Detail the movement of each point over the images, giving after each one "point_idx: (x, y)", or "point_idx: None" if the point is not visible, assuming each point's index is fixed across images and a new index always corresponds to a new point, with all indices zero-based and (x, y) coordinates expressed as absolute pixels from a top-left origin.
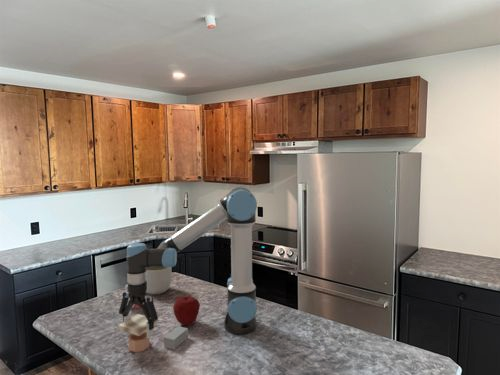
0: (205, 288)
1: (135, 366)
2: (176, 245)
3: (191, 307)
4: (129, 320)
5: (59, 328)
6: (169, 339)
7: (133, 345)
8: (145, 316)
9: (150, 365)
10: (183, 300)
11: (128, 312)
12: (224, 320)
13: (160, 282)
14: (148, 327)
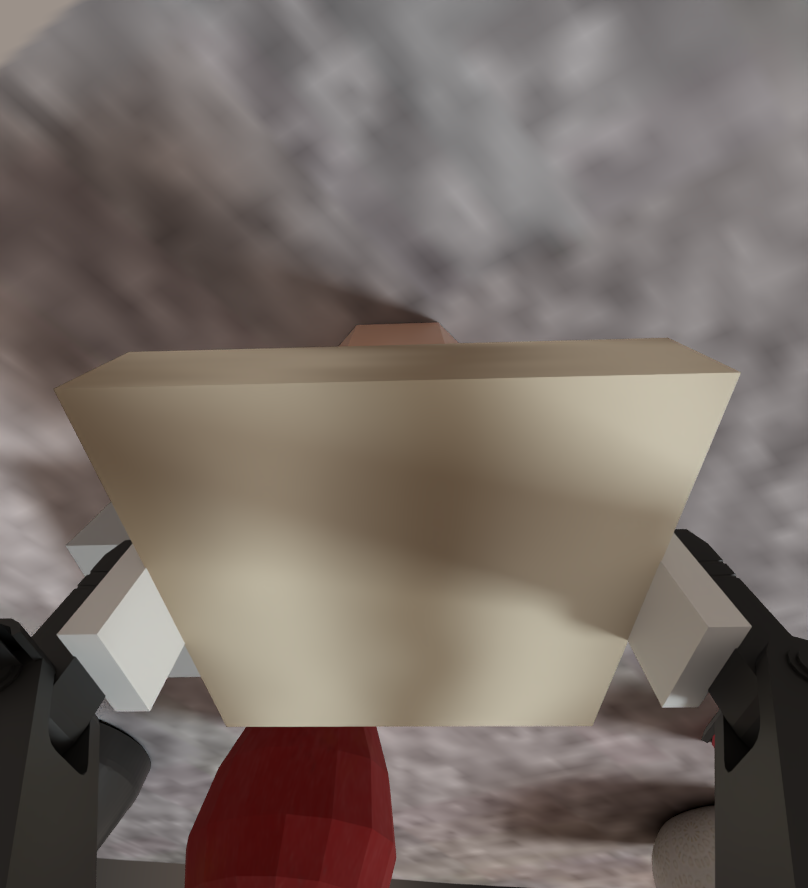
0: (481, 866)
1: (129, 103)
2: None
3: (188, 871)
4: (589, 589)
5: None
6: (119, 538)
7: (375, 342)
8: (427, 718)
9: (28, 208)
10: None
11: (725, 753)
12: (102, 772)
13: None
14: (129, 560)
